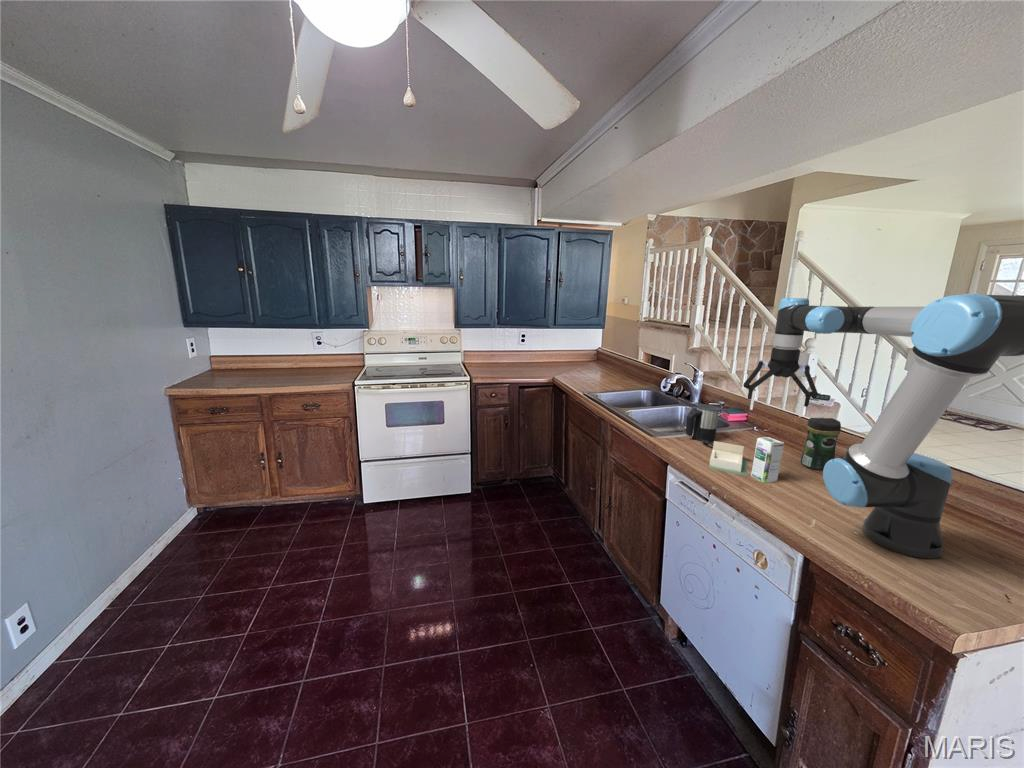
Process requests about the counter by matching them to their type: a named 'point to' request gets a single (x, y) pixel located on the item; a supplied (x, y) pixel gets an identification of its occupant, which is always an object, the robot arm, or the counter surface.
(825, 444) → the coffee jar
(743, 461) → the board
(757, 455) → the syrup box
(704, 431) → the milk frother
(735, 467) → the cream hollow box
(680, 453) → the counter surface
